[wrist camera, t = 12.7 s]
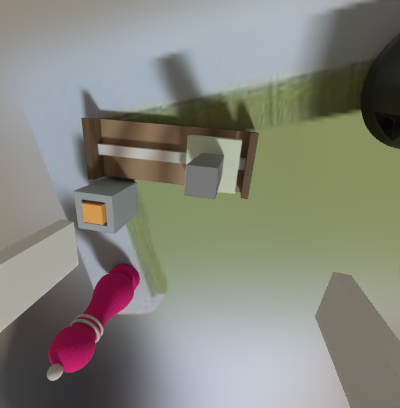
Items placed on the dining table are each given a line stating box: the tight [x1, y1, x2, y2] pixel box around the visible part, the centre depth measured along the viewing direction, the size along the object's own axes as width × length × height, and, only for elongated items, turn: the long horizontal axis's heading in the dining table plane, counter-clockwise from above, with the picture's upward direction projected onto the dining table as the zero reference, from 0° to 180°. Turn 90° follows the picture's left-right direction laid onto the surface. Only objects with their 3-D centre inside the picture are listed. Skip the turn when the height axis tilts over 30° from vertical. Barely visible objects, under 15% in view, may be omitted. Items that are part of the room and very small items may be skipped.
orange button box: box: [73, 179, 138, 234], centre depth 36 cm, size 6×6×8 cm
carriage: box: [185, 135, 242, 199], centre depth 26 cm, size 7×7×12 cm
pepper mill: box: [47, 264, 140, 381], centre depth 36 cm, size 7×7×20 cm
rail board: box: [81, 118, 259, 199], centre depth 33 cm, size 25×9×4 cm, turn 86°
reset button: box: [82, 200, 107, 225], centre depth 34 cm, size 3×3×6 cm
